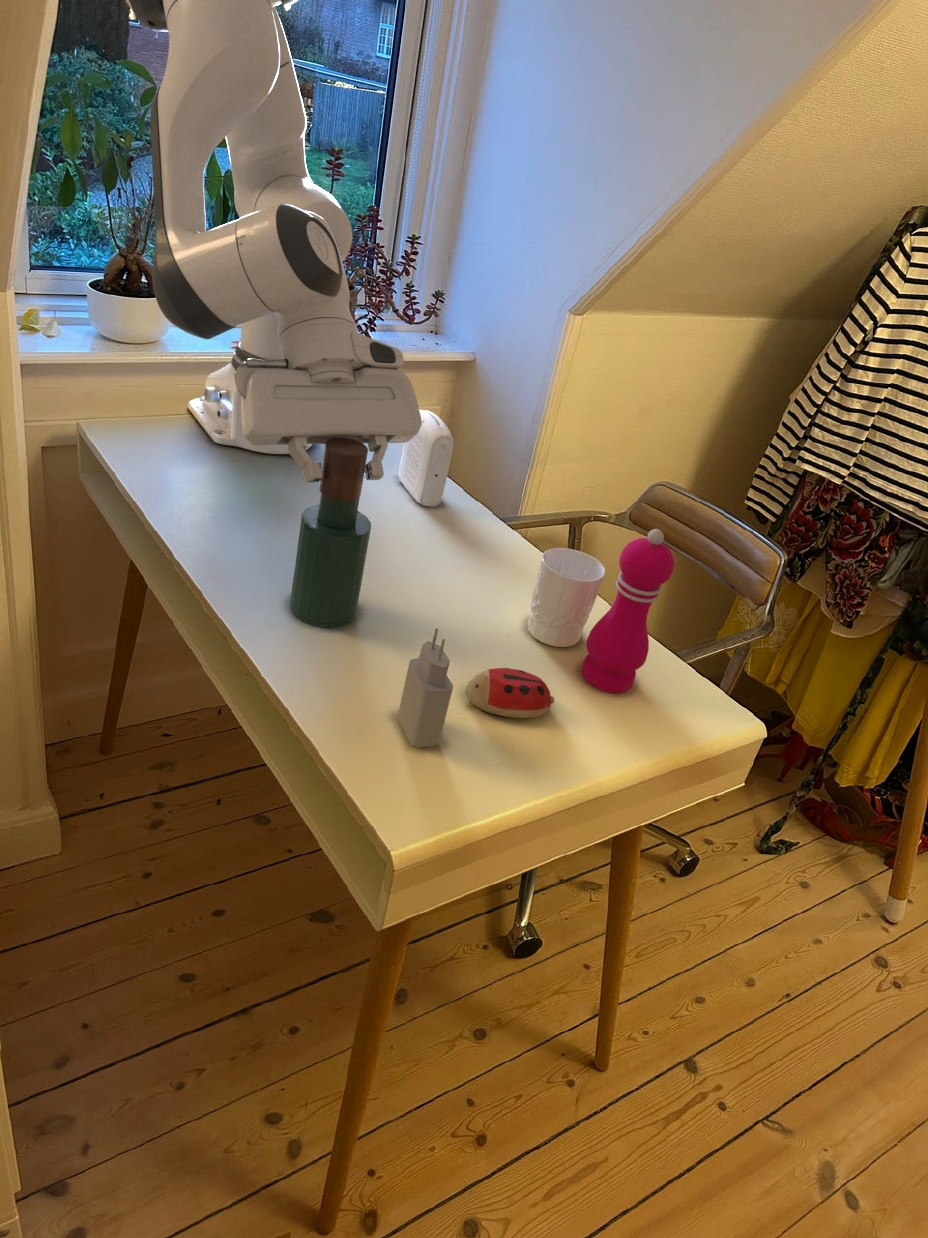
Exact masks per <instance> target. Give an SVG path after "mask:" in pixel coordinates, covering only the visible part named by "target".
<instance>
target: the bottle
mask: <svg viewBox="0 0 928 1238" xmlns="http://www.w3.org/2000/svg"><path fill="white" fill-rule="evenodd" d="M359 504H360V498H359V499H357V500H355V501H348V502H344V501H336V500H333V499H330V498H327V497H325V496H324V495H322V494H321V493H320V499H319V504H315V505H311V506H309V507H307V508H305V509H304V511H303V512H302V513H301V518H300V525H299V533H298V541H297V549H296V556H295V563H294V564H295V565H294V571H293V577H292V586H291V593H290V594H291V595H290V602H289V608H290V609H289V610H290V612H291V614H292V615H293V616H294V617H296V618H297V620H300V621H301V622H303V623H305V624H307V625H310V626H314V627H319V628H325V629H326V628H327V629H328V628H329V629H331V628H340V627H343V626H346V625H348V624H350V623H351V622H352V621H354V619H355V617H356V614H357V611H358V605H359V600H360V593H361V588H362V582H363V576H364V572H365V571H364V570H365V565H366V558H367V554H368V548H369V542H370V537H371V532H372V531H371V530H372V522H371V521H370V519H369V518H368V516H366V515H365V514H363V513H362V512H360V511H358V510H359V506H360V505H359Z"/></svg>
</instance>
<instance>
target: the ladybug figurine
mask: <svg viewBox="0 0 928 1238" xmlns="http://www.w3.org/2000/svg"><path fill="white" fill-rule="evenodd" d="M464 692H465V695H466V698H467V700H468V701H469V702H470V703H471V704H472V705H474V706H475V707H477V708H478V709H480V710H482V711H485V712H487V713H489V714H492V715H496V716H499V717H506V718H513V719H531V718H537V717H541V716H543V715H544V714H546V713H547V712H548V711H549V710H550V709H551V708H552V707H551V706H552V705H553V704H554V703H555V697H554V696H552V695H551V692H550V689H549V687H548V686H547V684H546V683H545V681H544V680H543V679H541V677H539V676H537V675H536V674H532V673H531V672H527V671H525V670H521V669H517V668H516V669H515V668H510V667H495V668H488V669H484V670H481V671H480V672H478V673H476V674H475V675H474V676H473V677H472V678H471V679H470V680H469V681H468V683H467V685H466V686H465V690H464Z"/></svg>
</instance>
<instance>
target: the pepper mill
mask: <svg viewBox="0 0 928 1238" xmlns="http://www.w3.org/2000/svg"><path fill="white" fill-rule="evenodd" d="M664 540H665V534H664V533H663V531H662V530H660V529H658V528H653V529H651V530H650V531H648V534H647V537H640V538H636V539H633V540H631V541H629V542H628V543H627V544H626V545H625V546H624V548H623V549H622V551H621V553H620V555H619V560H618V564H619V569H620V571H621V572H620V573H619V574H617V580H616V582H615V588H616V590H617V592H616V597H615V599H614V602H613V603H612V606H611V607H610V608H609V610H608V611H607V612H606V613H605V614H604V615H603V616H602V617H601V618H600V619H599V620H598V621H597V622H596V623H595V624H594V625H593V627H592V628H591V630H589V631H590V632H589V634H588V636H587V638H586V640H585V641H586V643H585V647H586V651H587V655H585V658H584V660H583V663H582V666H581V675H582V678H583V679H584V680H585V682H587V683H588V684H589V685H591V686H592V687H594V688H595V689H597V690H599V691H601V692H602V691H603V692H606V693H610V694H622V693H625V692H627V691H629V690H630V689H632V687H633V684H634V681H635V679H636V676H637V672H636V671H637V670H638V669H641V667H643V666H644V665H645V663H646V661H647V658H648V655H649V647H650V646H649V645H650V640H649V634H648V624H647V620H648V614H649V611H650V608H651V606H652V604H653V602H656V601H657V600H658V599H659V598H660V593H661V592H662V585H664V584H665V583H666V582H668V581H669V580H670V579H671V577H672V575H673V573H674V569H675V559H674V555H673V552H672V551H671V550H670V548H669V547H668V546H667V545H665V544H664V543H663V542H664Z"/></svg>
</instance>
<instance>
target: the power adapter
mask: <svg viewBox="0 0 928 1238" xmlns="http://www.w3.org/2000/svg"><path fill="white" fill-rule="evenodd" d="M438 631H439V628H438V627H436V628H435V630H434V633H433V637H432V641H429V640H427V641H425V642H423V644H422V645H421V648H420V652H419V657H418V658H417V657H416V658H411V659H410V660H409V661H408V666H407V671H406V675H405V680H404V685H403V690H402V693H401V697H400V698H401V699H400V704H399V708H398V712H397V721H398V723H399V725H400V727H401V728H402V731H403V733H404V734H405V736H406V738H407V740H408V741H409V743H410V745H411V746H412V747H414V748H417V749H421V748H423V749H424V748H432V747H437V746H438V745H439V744H440V742H441V738H442V734H443V730H444V726H445V721H446V717H447V714H448V709H449V706H450V701H451V697H452V693H453V689H454V685H453V682H452V681H451V680H450V677H449V676H448V671H449V667H450V663H451V660H450V658H449V657H448V655H447V654H446V652H445V651H444V646H445V642H446V638H442V639H441V644H440V645H439V644H438V643H436V641H437V636H438Z"/></svg>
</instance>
